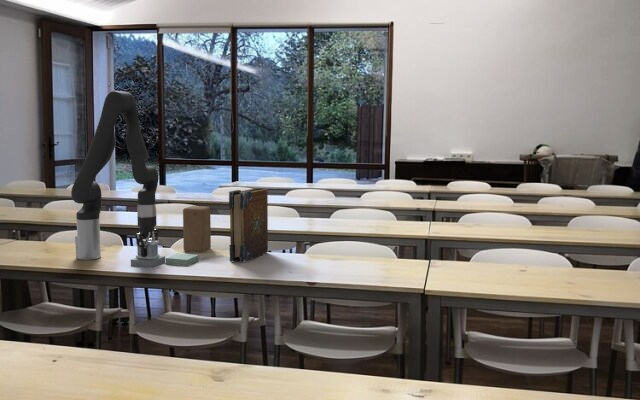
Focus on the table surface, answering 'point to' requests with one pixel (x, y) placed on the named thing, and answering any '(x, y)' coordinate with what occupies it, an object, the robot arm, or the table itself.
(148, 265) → the stand
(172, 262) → the stand
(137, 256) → the housing
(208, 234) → the wooden block
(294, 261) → the table surface
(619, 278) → the table surface
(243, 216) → the decorative book
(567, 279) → the table surface
